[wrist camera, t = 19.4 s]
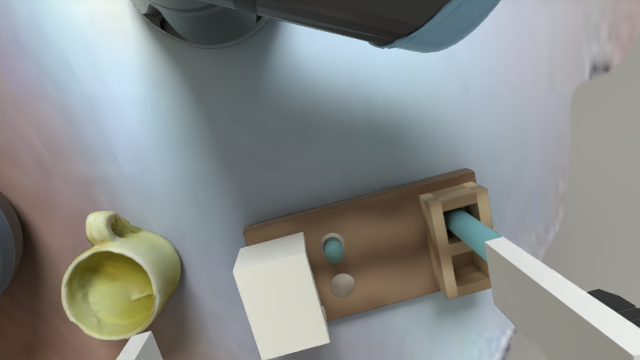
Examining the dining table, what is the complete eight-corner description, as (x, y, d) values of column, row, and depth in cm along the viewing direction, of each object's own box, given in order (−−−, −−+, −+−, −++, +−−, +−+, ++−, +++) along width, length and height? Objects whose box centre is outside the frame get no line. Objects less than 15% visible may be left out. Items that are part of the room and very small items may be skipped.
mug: (198, 317, 44) (137, 357, 34) (121, 304, 46) (43, 339, 36) (204, 209, 43) (144, 218, 34) (126, 202, 46) (49, 209, 36)
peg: (435, 206, 43) (489, 248, 31) (457, 200, 43) (519, 240, 31) (439, 227, 43) (494, 276, 32) (461, 221, 43) (523, 268, 32)
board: (245, 226, 44) (238, 245, 38) (466, 168, 44) (490, 178, 39) (276, 325, 47) (274, 355, 41) (482, 269, 47) (507, 292, 42)
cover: (240, 248, 42) (232, 271, 36) (303, 231, 42) (304, 252, 36) (265, 327, 44) (262, 360, 38) (325, 311, 44) (330, 342, 39)
